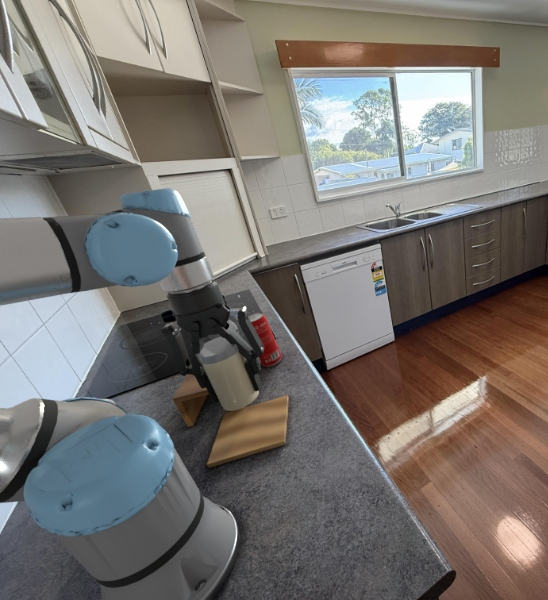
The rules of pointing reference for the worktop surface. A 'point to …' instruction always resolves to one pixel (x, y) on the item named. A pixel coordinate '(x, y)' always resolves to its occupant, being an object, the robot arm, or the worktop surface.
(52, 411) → the robot arm
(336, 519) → the worktop surface
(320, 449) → the worktop surface
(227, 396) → the jar
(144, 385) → the worktop surface
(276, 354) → the beverage can
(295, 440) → the worktop surface
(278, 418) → the board
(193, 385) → the shelf
